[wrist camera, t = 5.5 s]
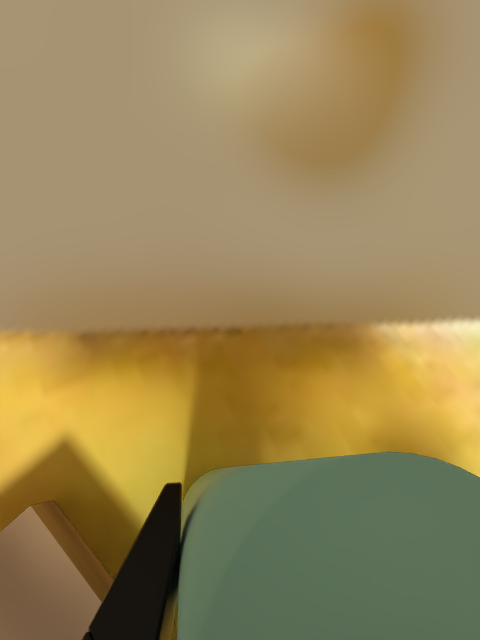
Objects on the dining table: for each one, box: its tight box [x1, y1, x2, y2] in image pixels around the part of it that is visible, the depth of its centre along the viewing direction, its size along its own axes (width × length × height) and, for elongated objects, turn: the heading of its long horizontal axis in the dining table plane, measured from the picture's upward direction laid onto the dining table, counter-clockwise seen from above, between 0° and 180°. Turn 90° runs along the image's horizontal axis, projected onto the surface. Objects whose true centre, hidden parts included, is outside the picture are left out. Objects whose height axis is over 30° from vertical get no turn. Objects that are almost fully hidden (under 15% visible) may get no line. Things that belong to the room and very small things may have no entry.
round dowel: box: [177, 452, 480, 640], centre depth 9 cm, size 4×4×14 cm
